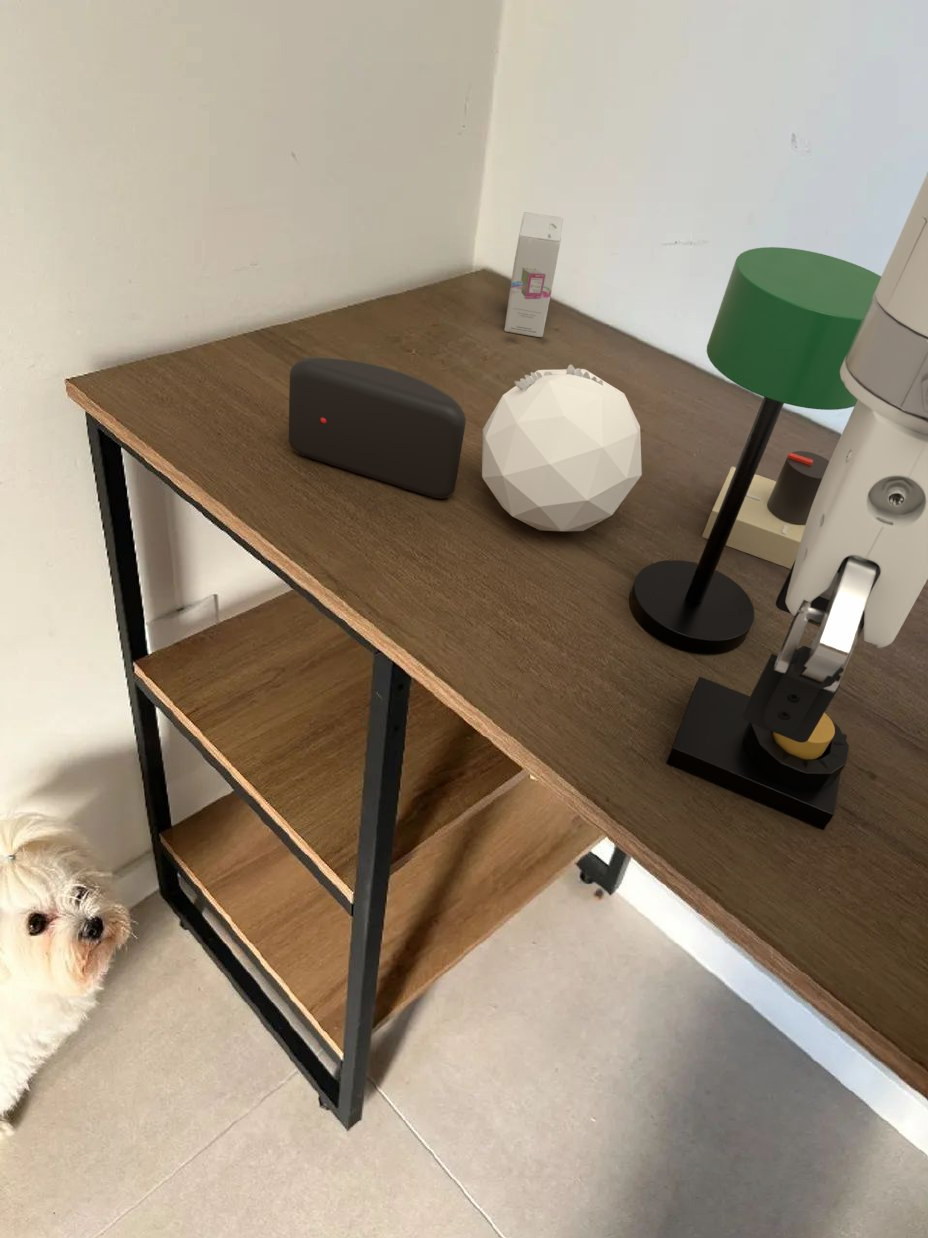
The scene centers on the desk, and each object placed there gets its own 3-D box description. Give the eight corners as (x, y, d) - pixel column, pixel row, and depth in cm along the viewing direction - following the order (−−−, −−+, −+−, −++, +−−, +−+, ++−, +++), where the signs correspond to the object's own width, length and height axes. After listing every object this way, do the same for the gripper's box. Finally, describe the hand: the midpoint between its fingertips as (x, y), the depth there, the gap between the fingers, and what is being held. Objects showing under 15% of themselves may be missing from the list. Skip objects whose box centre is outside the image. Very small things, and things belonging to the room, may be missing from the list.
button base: (837, 750, 67) (858, 718, 65) (823, 830, 62) (845, 798, 59) (692, 691, 70) (706, 658, 68) (665, 763, 64) (680, 730, 62)
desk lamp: (764, 600, 80) (915, 279, 61) (740, 678, 72) (904, 337, 53) (643, 555, 82) (753, 233, 64) (606, 625, 74) (719, 281, 56)
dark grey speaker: (465, 482, 87) (481, 391, 80) (448, 507, 83) (463, 414, 77) (306, 432, 89) (310, 340, 83) (284, 455, 86) (286, 360, 79)
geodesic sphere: (455, 509, 73) (592, 379, 67) (421, 414, 83) (538, 295, 78) (572, 592, 82) (701, 483, 76) (529, 497, 92) (640, 396, 87)
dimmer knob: (817, 507, 86) (841, 458, 83) (811, 530, 83) (835, 481, 80) (771, 491, 87) (792, 442, 84) (763, 513, 84) (784, 464, 81)
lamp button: (827, 732, 64) (838, 715, 63) (821, 767, 62) (831, 750, 60) (776, 712, 65) (786, 694, 64) (768, 746, 62) (777, 728, 61)
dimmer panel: (852, 537, 89) (866, 510, 87) (842, 588, 83) (857, 560, 81) (721, 491, 92) (732, 464, 90) (701, 536, 85) (712, 508, 83)
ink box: (506, 303, 119) (523, 208, 111) (545, 310, 119) (564, 215, 111) (501, 331, 112) (519, 232, 105) (542, 338, 112) (563, 240, 105)
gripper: (1057, 498, 30) (841, 816, 41) (1036, 321, 43) (875, 602, 54) (828, 423, 32) (680, 749, 43) (872, 274, 44) (749, 556, 55)
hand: (788, 667), depth 48 cm, fingers open, 9 cm apart
